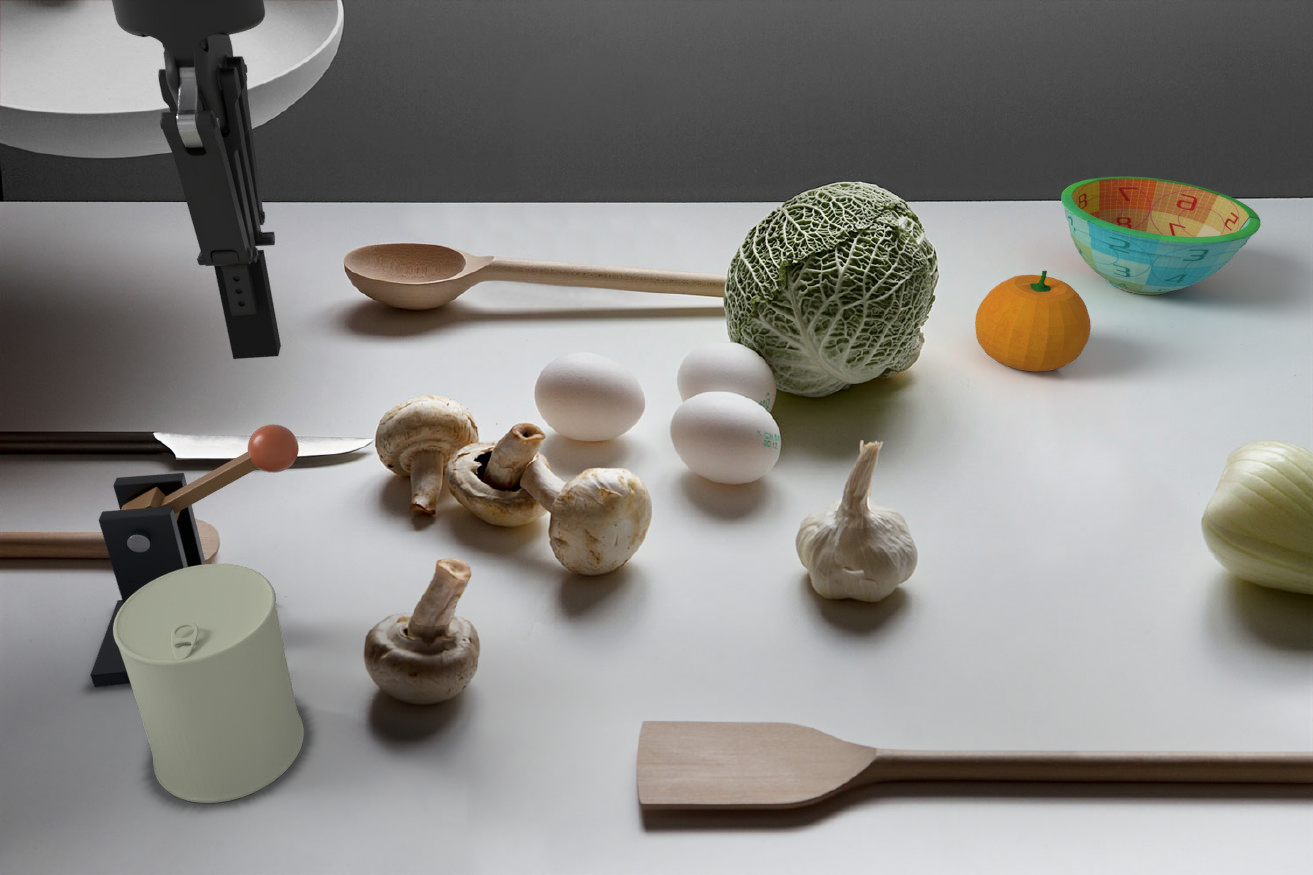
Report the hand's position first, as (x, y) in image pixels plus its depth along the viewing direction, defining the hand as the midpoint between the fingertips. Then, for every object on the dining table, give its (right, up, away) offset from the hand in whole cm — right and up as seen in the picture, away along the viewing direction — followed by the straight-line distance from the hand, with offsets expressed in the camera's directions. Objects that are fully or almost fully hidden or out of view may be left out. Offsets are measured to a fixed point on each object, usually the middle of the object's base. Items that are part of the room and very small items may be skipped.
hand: (257, 352), depth 71 cm
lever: (-4, -10, +5) cm, 11 cm away
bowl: (+85, +14, +69) cm, 110 cm away
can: (-3, -26, +2) cm, 26 cm away
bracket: (-9, -20, +11) cm, 25 cm away
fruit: (+65, +3, +51) cm, 83 cm away
